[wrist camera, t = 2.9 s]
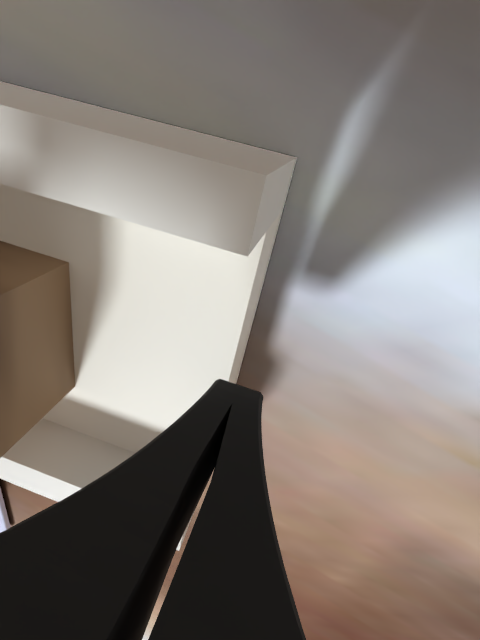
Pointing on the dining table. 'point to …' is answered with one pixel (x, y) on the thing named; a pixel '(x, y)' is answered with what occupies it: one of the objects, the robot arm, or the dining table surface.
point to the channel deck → (133, 269)
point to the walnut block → (32, 339)
